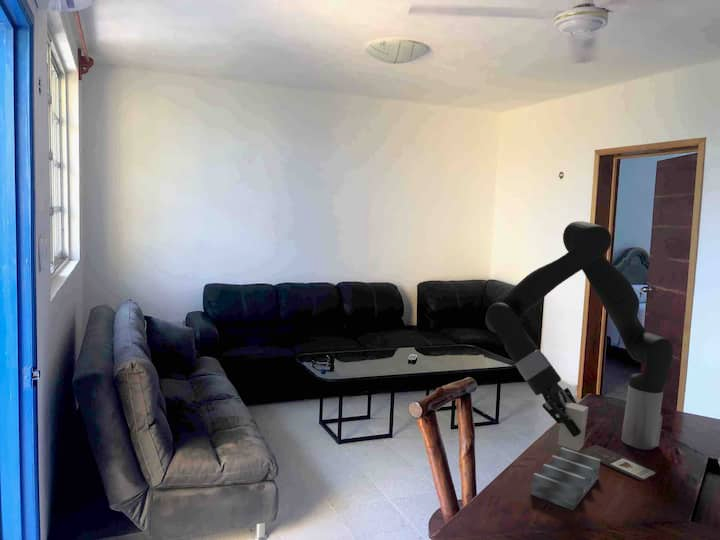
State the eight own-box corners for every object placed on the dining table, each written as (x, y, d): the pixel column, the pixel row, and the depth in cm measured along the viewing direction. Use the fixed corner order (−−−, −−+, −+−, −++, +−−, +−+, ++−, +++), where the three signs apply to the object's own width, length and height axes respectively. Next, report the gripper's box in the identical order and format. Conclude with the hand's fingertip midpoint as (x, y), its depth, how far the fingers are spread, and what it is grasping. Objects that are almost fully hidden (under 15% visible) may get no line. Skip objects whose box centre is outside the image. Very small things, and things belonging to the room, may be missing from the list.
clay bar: (557, 444, 144) (562, 405, 143) (563, 439, 147) (567, 401, 146) (578, 451, 141) (583, 411, 140) (583, 445, 144) (588, 407, 143)
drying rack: (531, 494, 141) (533, 474, 140) (559, 465, 157) (561, 447, 156) (572, 510, 135) (575, 489, 134) (598, 478, 151) (600, 459, 150)
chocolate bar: (596, 444, 170) (657, 471, 156) (595, 447, 170) (657, 474, 156) (578, 451, 165) (640, 479, 151) (577, 454, 165) (640, 483, 151)
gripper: (538, 370, 140) (584, 434, 135) (559, 358, 152) (601, 416, 146) (515, 385, 144) (558, 448, 139) (536, 373, 156) (577, 430, 150)
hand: (580, 431), depth 143 cm, fingers closed on clay bar, 4 cm apart
